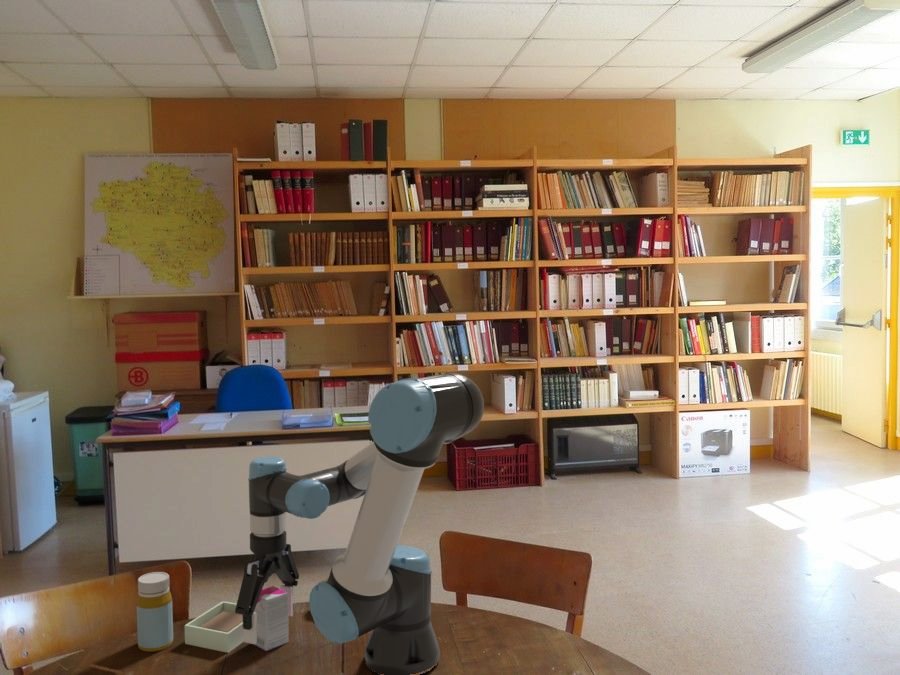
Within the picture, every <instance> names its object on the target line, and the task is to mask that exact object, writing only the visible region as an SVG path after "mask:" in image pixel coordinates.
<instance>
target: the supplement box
mask: <svg viewBox="0 0 900 675" xmlns="http://www.w3.org/2000/svg"><path fill="white" fill-rule="evenodd" d="M254 612H257V643H256V644H253V646H255V647H257V648H259V649H261V650H262V651H264V652H269V651H271V650H274V649H277V648H279V647H281V646H283V645H286V644H288V643H289V616H288V593H287V592H285V591H283V590H281V589H280V588H278V587H277V586H274V585H272V586H269V587H266V588H262V591H261V594H260V596H259V599H258V602H257V604H256V607H255V610H254Z"/></svg>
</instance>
